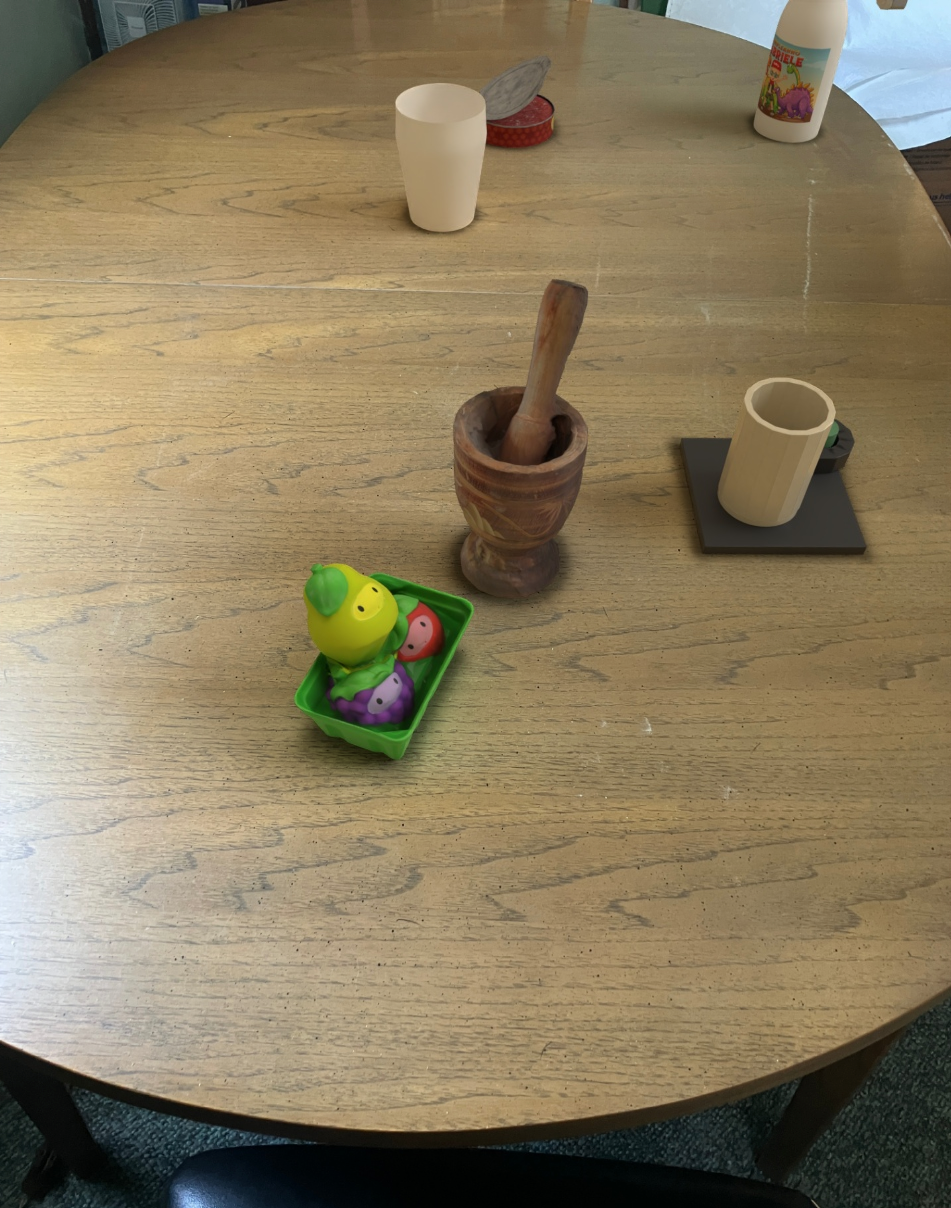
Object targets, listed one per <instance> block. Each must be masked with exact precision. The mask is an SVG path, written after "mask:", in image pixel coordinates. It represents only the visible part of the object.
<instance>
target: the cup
mask: <svg viewBox="0 0 951 1208" xmlns="http://www.w3.org/2000/svg"><path fill="white" fill-rule="evenodd" d="M394 126H395V127H394V129H395V130H394V131H395V132H394V136H395V137H394V138H395V142H396V147H397V154H398V160H399V164H400V169H401V175H402V180H403V185H404V189H405V191H404V192H405V197H406V202H407V207H408V212H409V217H410V218H409V219H410V220H411V221H412V223H413V224H414V225H415V226H417V227H419V228H421V229H423V230H426V231H429V232H430V231H431V232H436V233H449V232H453V231H459V230H461V229H464V228H465V227H467V226H469V225H470V224H471V223H472V222H473V220H474V218H475V213H476V206H477V199H478V194H479V189H480V183H481V182H480V180H481V177H482V175H481V174H482V168H483V163H484V162H483V161H484V156H485V150H486V144H487V143H486V136H487V129H486V105H485V99H484V98H483V96H482V95H481V94H479V91H477V90H474V89H472V88H470V87H468V86H465V85H460V84H455V83H448V82H447V83H445V82H437V83H436V82H435V83H425V84H420V85H415V86H413V87H410V88H408V89H406V90H404V91H402V92H401V93H399V95H398V96H397V97H396V98H395V125H394Z"/></svg>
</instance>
